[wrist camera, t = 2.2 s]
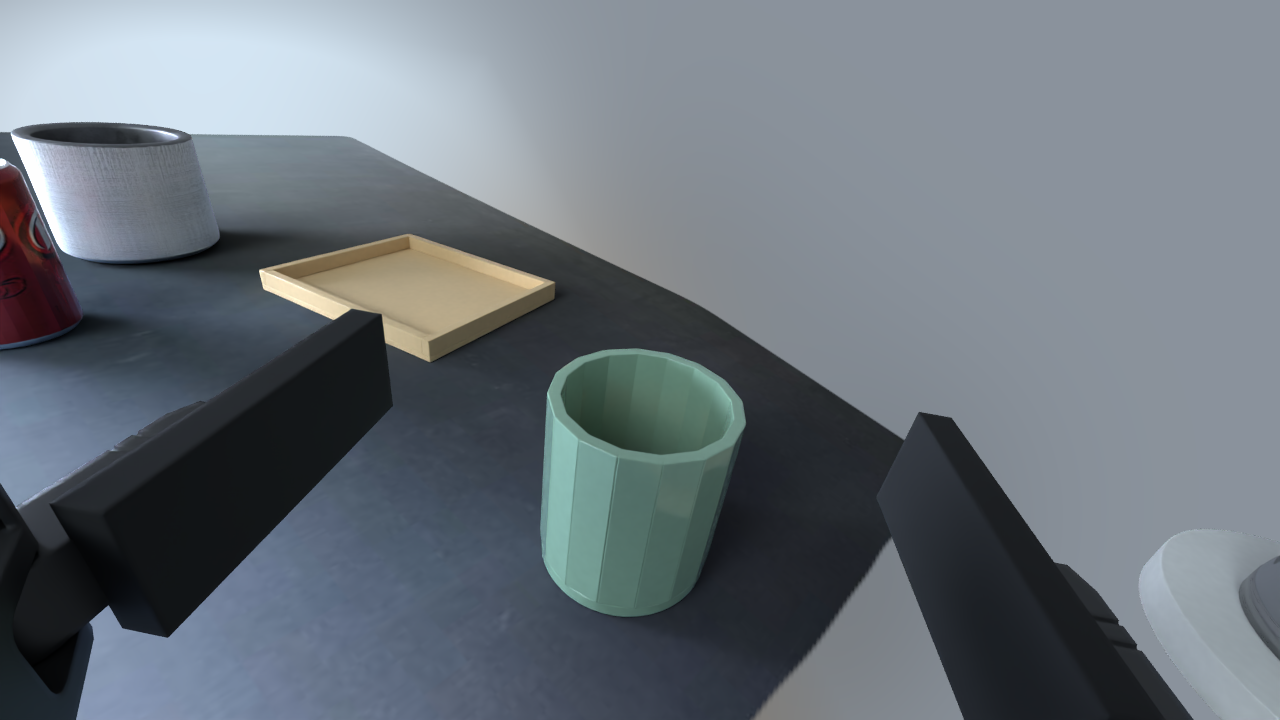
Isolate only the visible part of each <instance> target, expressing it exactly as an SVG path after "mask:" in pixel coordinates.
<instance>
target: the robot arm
mask: <svg viewBox="0 0 1280 720" xmlns="http://www.w3.org/2000/svg"><path fill="white" fill-rule="evenodd" d="M392 406H393V402H392V394H391V386H390V377H389V369H388V361H387V353H386V344H385V336H384V328H383V319H382V314H379V313H373V312H368V311H362V310H357V309H350V310H349V311H347V312H346V313H344V314H343V315H341V316H339V317H338V318H336V319H335V320H333V321H332V322H330V323H329V324H327V325H325V326H324V327H322V328H321V329H319V330H318V331H316V332H315V333H313V334H311V335H310V336H308V337H307V338H305V339H304V340H302V341H300V342H299V343H297V344H296V345H294V346H293V347H291V348H290V349H288V350H286V351H285V352H283V353H282V354H280V355H279V356H277V357H276V358H274V359H272V360H271V361H269V362H268V363H266V364H265V365H263V366H262V367H260V368H258V369H257V370H255V371H254V372H252V373H251V374H249V375H248V376H246V377H244V378H243V379H241V380H240V381H238V382H237V383H235V384H234V385H232V386H230V387H229V388H227V389H226V390H224V391H223V392H221V393H219V394H218V395H216V396H215V397H213V398H212V399H210V400H209V401H207V402H204V401H199V402H196V403H194V404H191V405H188V406H186V407H183V408H181V409H178V410H175V411H173V412H170V413H167V414H165V415H164V416H162V417H161V418H159V419H157V420H156V421H154V422H152V423H151V424H149V425H148V426H146V427H144V428H143V429H141V430H139V431H138V434H137V435H136V436H135V435H131V436H130V437H128V438H127V439H125V440H123V441H122V442H120V443H118V444H117V445H115V446H114V449H113V450H112V451H111V450H107V451H105V452H104V453H102V454H101V455H99V456H97V457H96V458H94V459H92V460H91V461H89V462H88V463H86V464H84V465H83V466H81V467H79V468H78V469H76V470H75V471H73V472H71V473H70V474H68V475H67V476H65V477H63V478H62V479H60V480H58V481H57V482H55V483H54V484H52V485H50V486H49V487H47V488H45V489H44V490H42V491H41V492H39V493H37V494H36V495H34V496H32V497H31V498H29V499H28V500H26V501H24V502H23V503H21V504H19V505H18V506H16V507H15V506H14V504H13V502H12V501H11V499H10V498H9V496H8V495H7V493H6V491H5V490H4V488H3V487H2V485H1V484H0V720H76V717H77V712H78V708H79V703H80V699H81V694H82V690H83V685H84V681H85V676H86V672H87V667H88V662H89V658H90V653H91V649H92V644H93V640H94V637H93V629H92V626H91V624H90V623H89V622H90V621H91V620H92V619H93V618H94V617H95V616H96V615H98V614H99V613H100V612H101V611H102V610H103V609H104V608H106V607H107V606H108V605H109V606H110V608H111V610H112V611H113V613H114V615H115V616H116V618H117V620H118V622H119V623H120V625H121V627H122V628H124V629H129V630H134V631H138V632H143V633H148V634H153V635H157V636H162V637H167V638H168V637H169V636H170V635H171V634H172V633H173V632H174V631H175V630H176V629H177V628H178V627H179V626H180V625H181V624H182V623H183V622H184V621H185V620H186V619H187V618H188V617H189V616H190V615H191V613H192V612H193V611H194V610H195V609H196V608H197V607H198V606H199V605H200V604H201V603H202V602H203V601H204V600H205V599H206V598H207V597H208V596H209V595H210V594H211V593H212V592H213V591H214V590H215V589H216V588H217V587H218V586H219V585H220V584H221V583H222V582H223V580H224V579H225V578H226V577H227V576H228V575H229V574H230V573H231V572H232V571H233V570H234V569H235V568H236V567H237V566H238V565H239V564H240V563H241V562H242V561H243V560H244V559H245V558H246V557H247V556H248V555H249V554H250V553H251V552H252V551H253V550H254V549H255V548H256V546H257V545H258V544H259V543H260V542H261V541H262V540H263V539H264V538H265V537H266V536H267V535H268V534H269V533H270V532H271V531H272V530H273V529H274V528H275V527H276V526H277V525H278V524H279V523H280V522H281V521H282V520H283V519H284V518H285V517H286V516H287V515H288V513H289V512H290V511H291V510H292V509H293V508H294V507H295V506H296V505H297V504H298V503H299V502H300V501H301V500H302V499H303V498H304V497H305V496H306V495H307V494H308V493H309V492H310V491H311V490H312V489H313V488H314V487H315V486H316V485H317V484H318V483H319V482H320V480H321V479H322V478H323V477H324V476H325V475H326V474H327V473H328V472H329V471H330V470H331V469H332V468H333V467H334V466H335V465H336V464H337V463H338V462H339V461H340V460H341V459H342V458H343V457H344V456H345V455H346V454H347V453H348V452H349V451H350V450H351V449H352V447H353V446H354V445H355V444H356V443H357V442H358V441H359V440H360V439H361V438H362V437H363V436H364V435H365V434H366V433H367V432H368V431H369V430H370V429H371V428H372V427H373V426H374V425H375V424H376V423H377V422H378V421H379V420H380V419H381V418H382V417H383V416H384V415H385V413H386V412H387V411H388V410H389V409H390V408H391V407H392ZM876 498H877V500H878V503H879V505H880V508H881V510H882V513H883V515H884V518H885V520H886V523H887V526H888V528H889V531H890V533H891V536H892V538H893V541H894V543H895V546H896V548H897V551H898V553H899V556H900V558H901V561H902V563H903V566H904V568H905V571H906V574H907V576H908V579H909V581H910V583H911V586H912V589H913V591H914V594H915V596H916V599H917V601H918V604H919V606H920V609H921V612H922V614H923V617H924V619H925V621H926V624H927V627H928V629H929V632H930V634H931V637H932V639H933V642H934V644H935V647H936V649H937V652H938V654H939V657H940V660H941V662H942V665H943V667H944V670H945V672H946V674H947V677H948V680H949V682H950V685H951V687H952V690H953V692H954V695H955V697H956V700H957V702H958V705H959V708H960V710H961V713H962V715H963V717H964V720H1193V718H1192V717H1191V716H1190V714H1189V713H1188V712H1187V711H1186V709H1185V708H1184V706H1183V705H1182V704H1181V702H1180V701H1179V700H1178V699H1177V697H1176V696H1175V694H1174V693H1173V692H1172V690H1171V689H1170V688H1169V687H1168V685H1167V684H1166V683H1165V681H1164V680H1163V679H1162V677H1161V676H1160V675H1159V673H1158V672H1157V671H1156V669H1155V668H1154V667H1153V666H1152V664H1151V663H1150V661H1149V660H1148V659H1147V657H1146V656H1145V655H1144V653H1143V652H1142V651H1139V650H1137V647H1136V646H1137V644H1136V643H1135V641H1134V640H1133V639H1132V637H1131V636H1130V635H1129V633H1128V632H1127V631H1126V629H1125V628H1124V627H1123V626H1119V624H1118V621H1119V620H1118V619H1117V618H1116V616H1115V615H1114V613H1113V612H1112V611H1111V610H1110V609H1109V607H1108V606H1107V604H1106V603H1105V602H1104V600H1103V599H1102V597H1101V596H1100V595H1099V594H1098V592H1097V591H1096V590H1095V589H1093V588H1092V587H1091V586H1090V585H1089V584H1088V583H1087V582H1086V581H1085V580H1083V579H1082V578H1081V577H1080V576H1079V575H1078V574H1077V573H1076V572H1075V571H1073V570H1072V569H1071V568H1070V567H1069V566H1068V565H1064V564H1059V563H1054V562H1053V560H1052V559H1051V557H1050V556H1049V555H1048V553H1047V552H1046V550H1045V549H1044V548H1043V546H1042V545H1041V543H1040V542H1039V541H1038V539H1037V538H1036V536H1035V535H1034V534H1033V532H1032V531H1031V529H1030V528H1029V526H1028V525H1027V524H1026V522H1025V521H1024V519H1023V518H1022V517H1021V515H1020V514H1019V512H1018V511H1017V509H1016V508H1015V507H1014V505H1013V504H1012V502H1011V501H1010V500H1009V498H1008V497H1007V495H1006V494H1005V493H1004V491H1003V490H1002V488H1001V487H1000V485H999V484H998V483H997V481H996V480H995V479H994V477H993V476H992V474H991V473H990V471H989V470H988V469H987V467H986V466H985V464H984V463H983V461H982V460H981V459H980V457H979V456H978V455H977V453H976V452H975V450H974V449H973V447H972V446H971V445H970V443H969V442H968V440H967V439H966V438H965V436H964V435H963V433H962V432H961V431H960V429H959V428H958V426H957V425H956V423H955V422H954V421H953V420H952V418H949V417H944V416H938V415H933V414H927V413H922V412H919V413H918V415H917V417H916V419H915V421H914V423H913V425H912V427H911V429H910V431H909V433H908V435H907V437H906V439H905V441H904V443H903V445H902V447H901V449H900V451H899V453H898V455H897V457H896V459H895V461H894V463H893V465H892V467H891V469H890V471H889V473H888V475H887V477H886V479H885V481H884V483H883V485H882V487H881V489H880V491H879V493H878V495H877V497H876ZM1239 599H1240V603H1241V606H1242V608H1243V611H1244V613H1245V615H1246V617H1247V619H1248V620H1249V622H1250V624H1251V625H1252V627H1253V628H1254V630H1255V631H1256V633H1257V634H1258V635H1259V637H1260V638H1261V639H1262V641H1263V642H1264V643H1265V644H1266V646H1267V647H1268V648H1269V649H1270V650H1271V651H1272V652H1273V654H1274V655H1275V656H1276V657H1277V658H1278V659H1279V660H1280V556H1277V557H1275V558H1273V559H1271V560H1269V561H1268V562H1266V563H1265V564H1263V565H1261V566H1259V567H1258V568H1257V569H1256V570H1255V571H1254V572H1253V573H1252V574H1250V575H1249V576H1248V577H1247V578H1246V579H1245V580H1244V581H1243V582H1242V584H1241V585H1240V589H1239Z"/></svg>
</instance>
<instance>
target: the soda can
mask: <svg viewBox="0 0 1280 720" xmlns="http://www.w3.org/2000/svg"><path fill="white" fill-rule="evenodd" d="M82 317H83V311H82V308H81V306H80V303H79V301H78V299H77V297H76V294H75V292H74V290H73V288H72V285H71V283H70V281H69V279H68V276H67V274H66V272H65V270H64V267H63V265H62V263H61V261H60V258H59V256H58V254H57V252H56V249H55V247H54V245H53V243H52V240H51V238H50V236H49V234H48V231H47V229H46V227H45V225H44V222H43V220H42V218H41V216H40V213H39V211H38V209H37V207H36V205H35V202H34V200H33V198H32V196H31V193H30V191H29V189H28V187H27V184H26V182H25V180H24V178H23V175H22V173H21V171H20V170H19V169H18V168H16V167H15V166H13V165H11V164H9V162H8V161H6V160H4V159H1V158H0V350H2V349H10V348H17V347H23V346H28V345H32V344H37V343H41V342H44V341H47V340H51V339H53V338H56V337H59V336H61V335H63V334H65V333H67V332H69V331H70V330H72V329H73V328H75V327H76V326H77V325H78V323H79V322H80V321H81V319H82Z"/></svg>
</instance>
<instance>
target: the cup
mask: <svg viewBox="0 0 1280 720" xmlns="http://www.w3.org/2000/svg"><path fill="white" fill-rule="evenodd" d="M745 426H746V419H745V414H744V408H743V402H742V400H741V399H740V398H739V396H738V395H737V394H736V393H735V392H734V390H733V389H732V388H731V387H730V385H729V384H728V383H727V382H726V381H725V380H724V379H722V378H721V377H719V376H718V375H716V374H714V373H713V372H711V371H710V370H708V369H707V368H705V367H703V366H702V365H700V364H698V363H695V362H692V361H689V360H686V359H684V358H681V357H678V356H675V355H673V354H669V353H663V352H656V351H650V350H643V349H616V350H603V351H599V352H596V353H592V354H589V355H585V356H582V357H578V358H576V359H575V360H573V361H572V362H570V363H569V364H568V365H566V366H565V367H563V368H562V369H561V370H559V371H558V372H557V373H556V374H555V376H554V378H553V381H552V383H551V385H550V388H549V390H548V392H547V410H546V430H545V449H544V469H543V489H542V509H541V528H540V533H541V538H542V541H541V548H542V556H543V559H544V563H545V566H546V568H547V570H548V572H549V574H550V576H551V577H552V579H553V580H554V582H555V583H556V584H557V585H558V586H559V588H560V589H561V590H562V591H563V592H564V593H566V594H567V595H568V596H569V597H570V598H572V599H573V600H575V601H576V602H578V603H579V604H581V605H583V606H585V607H587V608H589V609H591V610H594V611H597V612H600V613H603V614H608V615H612V616H621V617H639V616H645V615H651V614H654V613H657V612H661V611H663V610H665V609H667V608H670V607H671V606H673V605H675V604H676V603H678V602H679V601H681V600H682V599H683V598H684V597H685V596H686V595H687V594H688V593H689V592H690V591H691V590H692V589H693V587H694V586H695V584H696V583H697V581H698V579H699V577H700V574H701V572H702V568H703V565H704V563H705V561H706V559H707V556H708V553H709V549H710V546H711V542H712V539H713V536H714V532H715V529H716V525H717V522H718V519H719V515H720V512H721V508H722V505H723V501H724V498H725V495H726V491H727V488H728V484H729V481H730V478H731V474H732V471H733V467H734V464H735V460H736V457H737V454H738V450H739V447H740V443H741V440H742V437H743V433H744V430H745Z"/></svg>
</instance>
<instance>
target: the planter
mask: <svg viewBox="0 0 1280 720" xmlns="http://www.w3.org/2000/svg"><path fill="white" fill-rule="evenodd" d="M11 135H12V138H13V140H14V142H15V145H16V147H17V149H18V152H19V154H20V156H21V158H22V161H23V163H24V165H25V168H26V170H27V172H28V175H29V177H30V180H31V182H32V184H33V187H34V189H35V191H36V194H37V196H38V199H39V201H40V204H41V206H42V208H43V211H44V213H45V216H46V218H47V220H48V223H49V225H50V228H51V230H52V232H53V235H54V237H55V239H56V242H57V244H58V245H59V247H60V248H61V249H62V251H64V252H65V253H67V254H70V255H72V256H74V257H78V258H81V259H84V260H88V261H93V262H99V263H111V264H139V263H151V262H161V261H168V260H173V259H179V258H184V257H188V256H191V255H194V254H197V253H200V252H202V251H204V250H206V249H208V248H210V247H211V246H213V245H214V244H215V243H216V242H217V241H218V240H219V238H220V234H219V228H218V225H217V221H216V218H215V214H214V211H213V208H212V205H211V201H210V198H209V195H208V191H207V188H206V185H205V181H204V178H203V175H202V171H201V168H200V165H199V161H198V158H197V154H196V151H195V147H194V144H193V140H192V137H191V135H189V134H187V133H185V132H182V131H179V130H175V129H170V128H164V127H157V126H148V125H139V124H125V123H101V122H100V123H99V122H79V123H78V122H76V123H75V122H71V123H50V124H39V125H31V126H25V127H21V128H17V129H15V130H13V131H12V132H11Z"/></svg>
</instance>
